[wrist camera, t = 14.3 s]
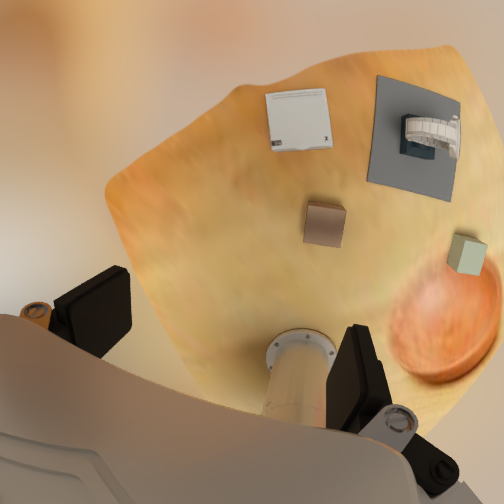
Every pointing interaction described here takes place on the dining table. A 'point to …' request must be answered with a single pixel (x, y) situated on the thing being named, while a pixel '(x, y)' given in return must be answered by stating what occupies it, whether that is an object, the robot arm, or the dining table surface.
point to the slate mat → (389, 133)
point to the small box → (299, 120)
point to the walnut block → (324, 224)
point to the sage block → (466, 254)
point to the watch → (429, 136)
